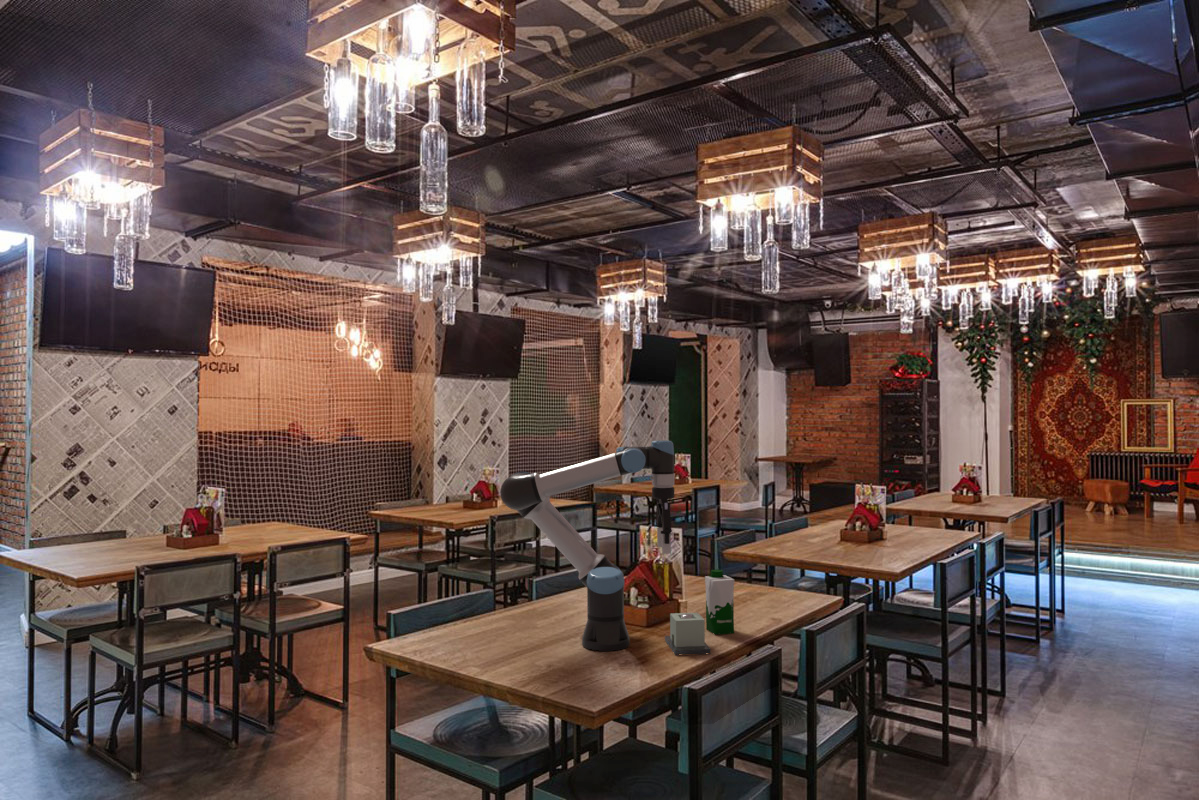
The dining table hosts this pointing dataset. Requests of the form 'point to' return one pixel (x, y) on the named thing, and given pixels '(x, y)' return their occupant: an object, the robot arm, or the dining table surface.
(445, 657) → the dining table surface
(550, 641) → the dining table surface
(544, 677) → the dining table surface
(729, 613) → the milk carton
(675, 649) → the base plate
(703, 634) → the notched green box
